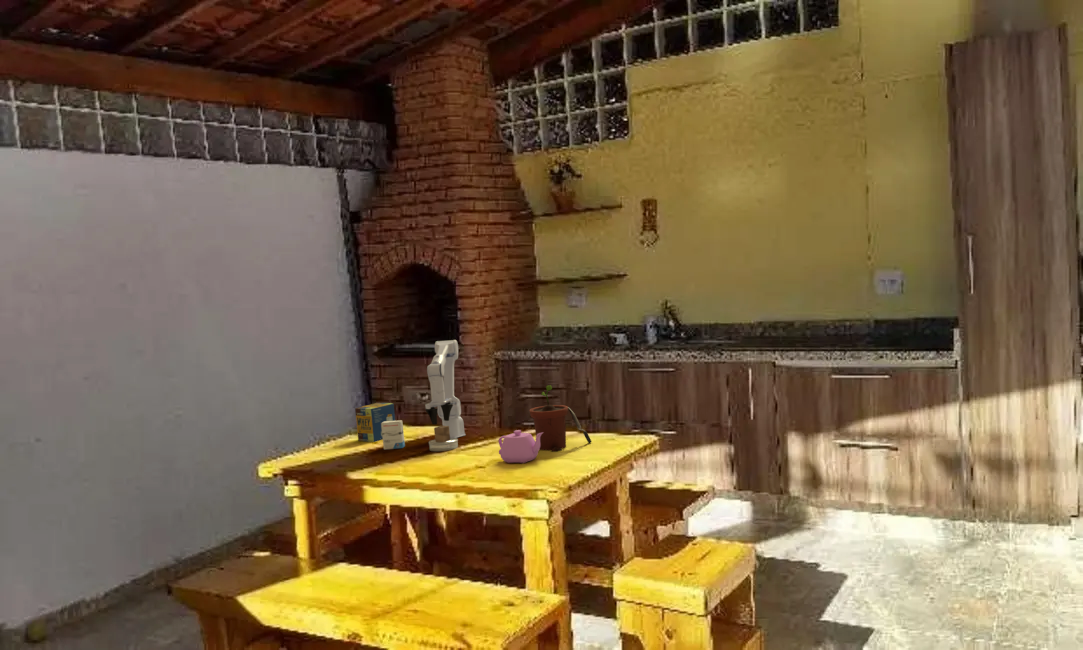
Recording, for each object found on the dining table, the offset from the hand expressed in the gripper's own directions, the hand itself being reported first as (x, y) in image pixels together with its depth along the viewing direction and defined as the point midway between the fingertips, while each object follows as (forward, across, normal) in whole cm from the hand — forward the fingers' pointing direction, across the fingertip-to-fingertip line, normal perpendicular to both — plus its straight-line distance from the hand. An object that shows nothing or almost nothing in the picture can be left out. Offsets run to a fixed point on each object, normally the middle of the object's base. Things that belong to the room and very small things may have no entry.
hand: (440, 422), depth 381 cm
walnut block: (+7, +4, +4) cm, 9 cm away
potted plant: (+10, -12, +54) cm, 56 cm away
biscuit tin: (+10, +4, +4) cm, 12 cm away
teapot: (+10, +13, +54) cm, 56 cm away
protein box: (+11, -5, -46) cm, 48 cm away
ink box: (+10, +9, -20) cm, 25 cm away
